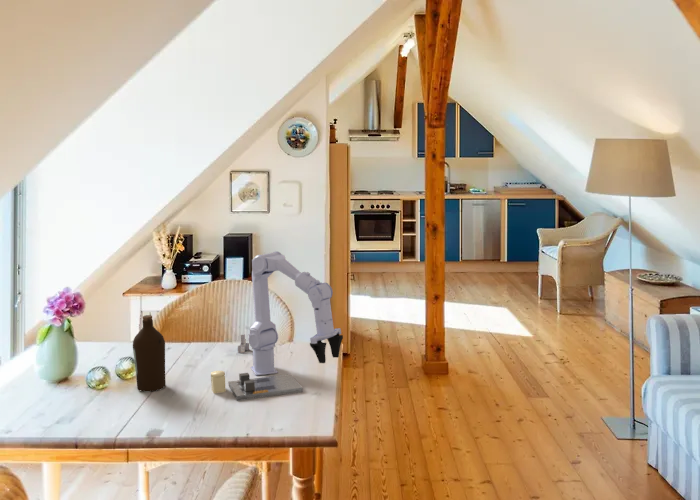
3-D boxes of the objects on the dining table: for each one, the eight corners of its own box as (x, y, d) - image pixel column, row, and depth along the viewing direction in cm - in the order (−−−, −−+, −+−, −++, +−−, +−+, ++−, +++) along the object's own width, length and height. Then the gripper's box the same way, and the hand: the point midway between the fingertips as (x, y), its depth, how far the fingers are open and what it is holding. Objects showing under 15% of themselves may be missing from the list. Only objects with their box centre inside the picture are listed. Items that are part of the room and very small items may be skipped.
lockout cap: (210, 389, 255) (209, 371, 254) (224, 387, 256) (223, 370, 255) (212, 393, 251) (212, 375, 249) (226, 392, 252) (225, 374, 251)
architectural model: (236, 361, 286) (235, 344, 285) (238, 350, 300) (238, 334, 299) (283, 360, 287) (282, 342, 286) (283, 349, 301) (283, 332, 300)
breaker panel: (228, 385, 258) (228, 381, 258) (290, 378, 265) (290, 373, 265) (237, 400, 244) (236, 395, 244) (302, 391, 251) (302, 387, 251)
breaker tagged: (244, 389, 250) (243, 381, 249) (253, 388, 251) (252, 379, 250) (245, 391, 247) (245, 383, 247) (254, 390, 248) (254, 382, 248)
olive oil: (170, 381, 263) (166, 312, 259) (163, 392, 253) (159, 319, 249) (139, 382, 263) (135, 312, 259) (131, 393, 252) (127, 320, 248)
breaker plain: (239, 381, 257) (239, 373, 257) (248, 380, 258) (247, 372, 258) (240, 383, 255) (240, 375, 254) (249, 382, 256) (249, 374, 255)
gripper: (320, 324, 242) (325, 365, 243) (346, 315, 254) (351, 354, 255) (303, 324, 246) (308, 365, 247) (329, 315, 258) (334, 354, 259)
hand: (329, 360), depth 252 cm, fingers open, 7 cm apart
